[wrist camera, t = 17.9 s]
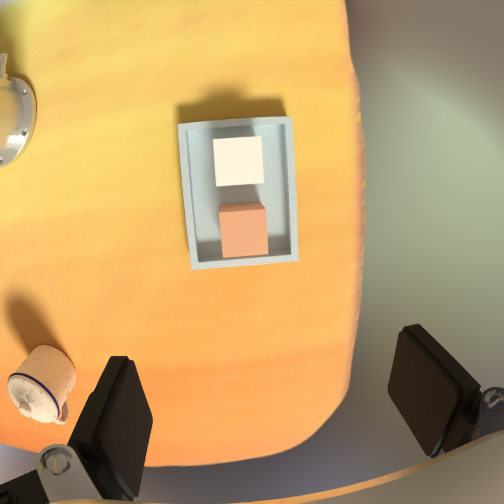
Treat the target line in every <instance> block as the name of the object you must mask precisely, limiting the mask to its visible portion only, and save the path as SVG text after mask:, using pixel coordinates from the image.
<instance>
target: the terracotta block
mask: <svg viewBox="0 0 504 504" xmlns="http://www.w3.org/2000/svg"><path fill="white" fill-rule="evenodd" d="M219 219H220V231H221V242H222V253H223V258H226V257H238V256H251V255H263V254H268V237H267V218H266V208H265V207H264V206H263V204H262V203H261V202H247V203H234V204H222V205H220V209H219Z"/></svg>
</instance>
